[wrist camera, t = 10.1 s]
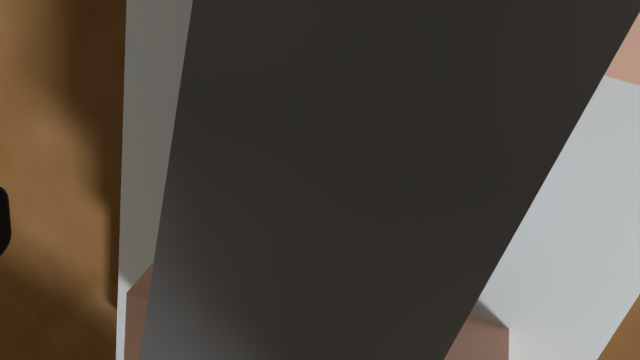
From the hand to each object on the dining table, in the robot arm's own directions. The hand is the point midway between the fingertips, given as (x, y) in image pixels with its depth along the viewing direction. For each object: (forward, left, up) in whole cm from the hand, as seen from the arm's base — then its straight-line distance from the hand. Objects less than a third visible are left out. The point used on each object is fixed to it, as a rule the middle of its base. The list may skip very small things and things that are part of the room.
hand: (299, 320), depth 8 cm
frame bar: (0, 0, -2) cm, 3 cm away
